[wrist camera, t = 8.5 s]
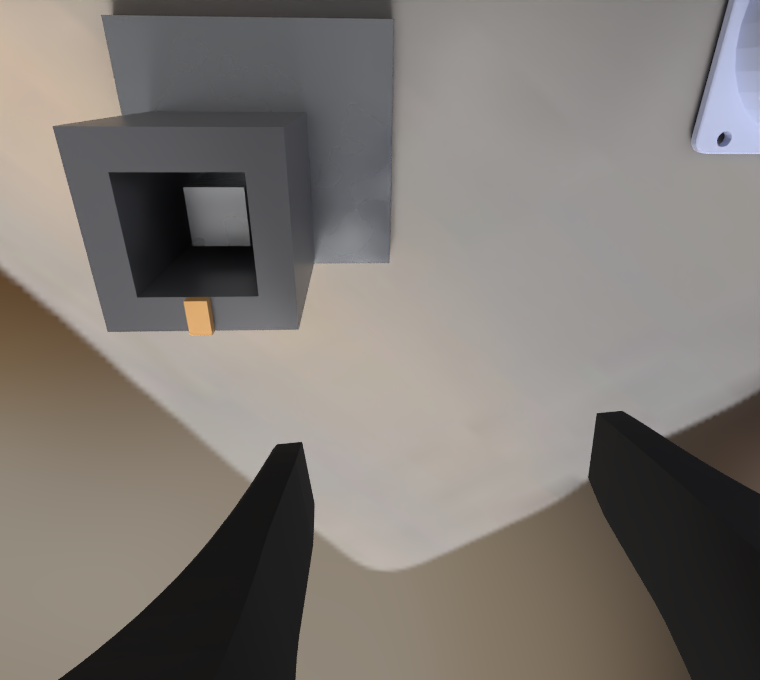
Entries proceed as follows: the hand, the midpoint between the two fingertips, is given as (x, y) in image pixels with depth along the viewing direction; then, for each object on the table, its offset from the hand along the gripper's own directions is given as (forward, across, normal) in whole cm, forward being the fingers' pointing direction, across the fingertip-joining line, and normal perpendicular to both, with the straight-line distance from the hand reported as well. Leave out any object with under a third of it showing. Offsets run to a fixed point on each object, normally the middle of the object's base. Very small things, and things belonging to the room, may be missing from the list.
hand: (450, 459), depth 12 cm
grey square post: (+10, +6, -5) cm, 13 cm away
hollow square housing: (+9, +6, -5) cm, 12 cm away
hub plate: (+10, +5, -6) cm, 13 cm away
